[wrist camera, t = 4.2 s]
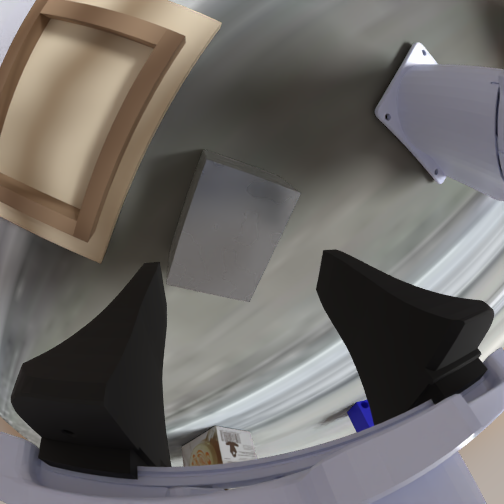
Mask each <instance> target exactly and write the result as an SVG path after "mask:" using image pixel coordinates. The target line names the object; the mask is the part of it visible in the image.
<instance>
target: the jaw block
mask: <svg viewBox="0 0 504 504" xmlns="http://www.w3.org/2000/svg"><path fill="white" fill-rule="evenodd" d="M300 194H301V193H300V192H299V191H297V190H296V189H295V188H294V187H292V186H291V185H290V184H289V183H287V182H286V181H285V180H284V179H282V178H281V177H280V176H278V175H275V174H273V173H270V172H268V171H265V170H262V169H260V168H257V167H254V166H251V165H249V164H246V163H243V162H240V161H237V160H235V159H232V158H229V157H226V156H223V155H220V154H217V153H214V152H211V151H208V150H205V149H203V151H202V154H201V157H200V159H199V162H198V165H197V168H196V170H195V173H194V176H193V179H192V182H191V185H190V187H189V190H188V193H187V196H186V199H185V202H184V205H183V208H182V212H181V215H180V218H179V221H178V224H177V227H176V231H175V234H174V237H173V241H172V244H171V247H170V251H169V260H168V270H167V281H166V284H168V285H173V286H177V287H181V288H186V289H190V290H194V291H199V292H203V293H208V294H213V295H217V296H222V297H227V298H232V299H237V300H242V301H247V302H250V300H251V298H252V296H253V294H254V292H255V290H256V288H257V286H258V283H259V281H260V279H261V277H262V275H263V273H264V271H265V269H266V267H267V265H268V263H269V261H270V258H271V256H272V254H273V252H274V250H275V248H276V246H277V244H278V242H279V239H280V237H281V235H282V233H283V231H284V229H285V227H286V225H287V222H288V220H289V218H290V216H291V214H292V212H293V210H294V207H295V205H296V203H297V201H298V199H299V197H300Z"/></svg>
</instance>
